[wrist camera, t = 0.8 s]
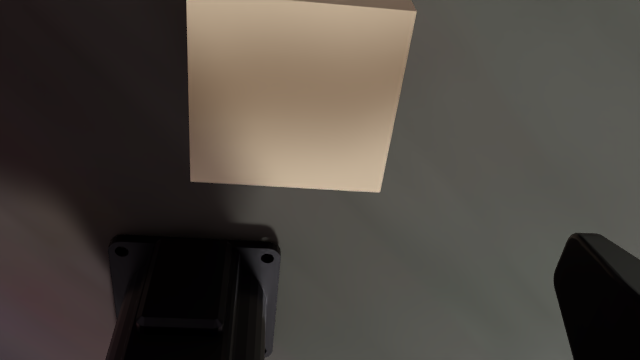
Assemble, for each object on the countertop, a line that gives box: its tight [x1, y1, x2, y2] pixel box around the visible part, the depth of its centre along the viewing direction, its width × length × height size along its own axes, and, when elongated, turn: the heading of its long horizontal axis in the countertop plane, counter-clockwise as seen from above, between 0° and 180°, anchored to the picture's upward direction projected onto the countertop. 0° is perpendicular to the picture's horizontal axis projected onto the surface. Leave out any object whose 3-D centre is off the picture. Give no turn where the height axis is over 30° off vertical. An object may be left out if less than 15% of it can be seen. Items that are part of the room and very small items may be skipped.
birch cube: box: [186, 0, 417, 192], centre depth 17 cm, size 5×5×5 cm
